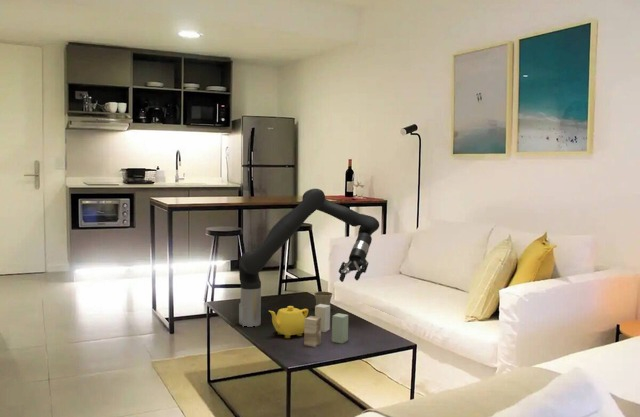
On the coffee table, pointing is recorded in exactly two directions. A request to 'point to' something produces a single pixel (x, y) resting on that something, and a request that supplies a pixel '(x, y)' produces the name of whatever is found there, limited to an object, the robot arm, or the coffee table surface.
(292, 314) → the teapot
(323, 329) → the offwhite pillar
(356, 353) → the coffee table surface
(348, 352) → the coffee table surface
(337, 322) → the sage pillar
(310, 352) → the coffee table surface
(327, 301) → the flower pot
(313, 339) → the birch pillar
